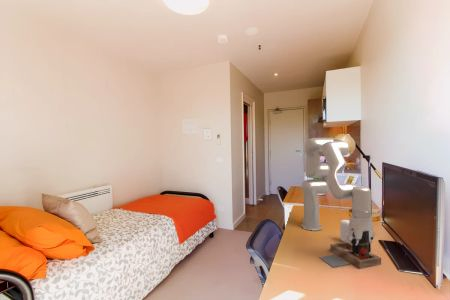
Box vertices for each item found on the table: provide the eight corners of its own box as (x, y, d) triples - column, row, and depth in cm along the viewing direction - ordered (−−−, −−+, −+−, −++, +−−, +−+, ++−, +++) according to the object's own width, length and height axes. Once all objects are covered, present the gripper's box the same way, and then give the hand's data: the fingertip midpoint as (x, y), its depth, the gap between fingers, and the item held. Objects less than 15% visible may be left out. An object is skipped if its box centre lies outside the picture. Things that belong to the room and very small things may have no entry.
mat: (319, 257, 107) (319, 257, 107) (335, 255, 109) (335, 254, 109) (333, 267, 98) (333, 266, 98) (349, 264, 100) (349, 263, 100)
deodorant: (370, 260, 103) (370, 229, 103) (367, 266, 99) (367, 232, 99) (356, 256, 107) (356, 226, 107) (352, 261, 103) (352, 229, 103)
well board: (330, 250, 114) (330, 244, 114) (349, 246, 118) (349, 241, 117) (359, 268, 97) (359, 262, 97) (381, 264, 100) (381, 257, 100)
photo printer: (339, 239, 126) (339, 218, 126) (345, 238, 127) (345, 217, 127) (353, 247, 116) (353, 224, 116) (360, 246, 117) (360, 223, 117)
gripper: (368, 209, 109) (368, 245, 109) (339, 212, 104) (339, 250, 104) (383, 214, 101) (383, 252, 102) (352, 218, 97) (352, 258, 97)
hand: (361, 251), depth 103 cm, fingers closed on deodorant, 6 cm apart
